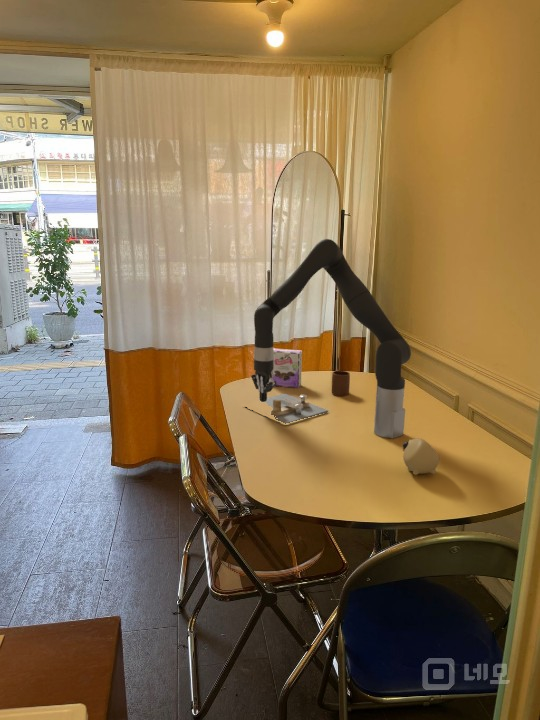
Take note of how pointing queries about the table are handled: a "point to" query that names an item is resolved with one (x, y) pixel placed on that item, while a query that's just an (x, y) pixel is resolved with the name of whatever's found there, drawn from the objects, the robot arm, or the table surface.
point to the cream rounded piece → (420, 456)
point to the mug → (340, 383)
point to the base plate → (291, 416)
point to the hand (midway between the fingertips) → (263, 401)
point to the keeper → (295, 404)
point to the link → (284, 408)
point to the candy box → (287, 368)
